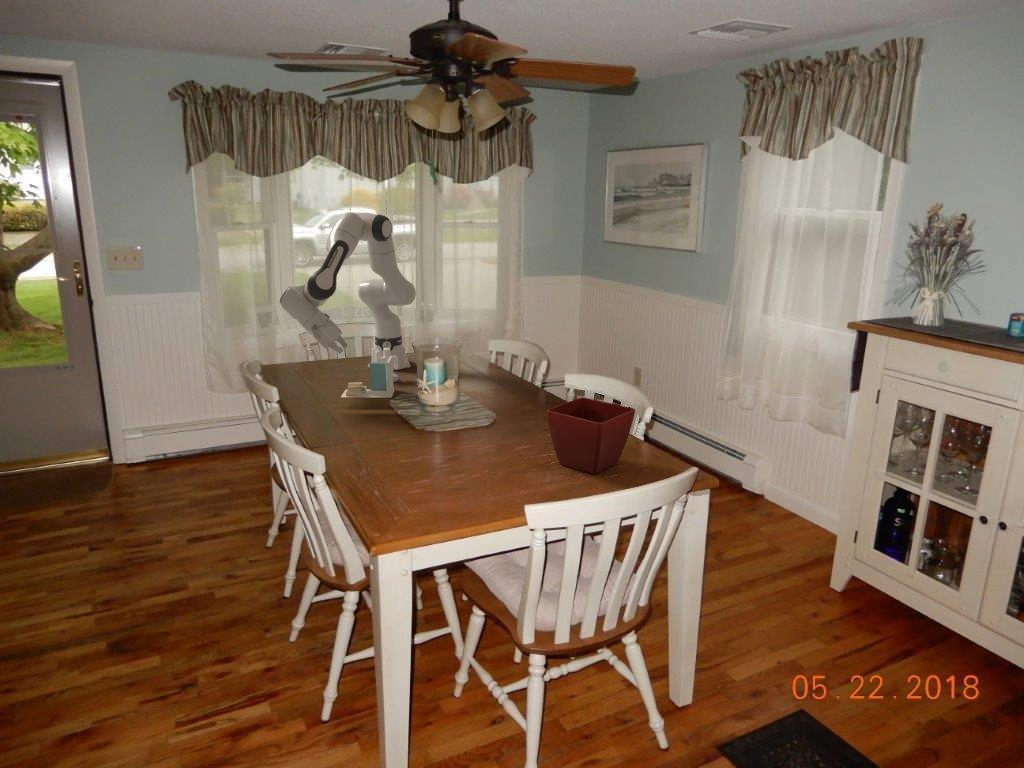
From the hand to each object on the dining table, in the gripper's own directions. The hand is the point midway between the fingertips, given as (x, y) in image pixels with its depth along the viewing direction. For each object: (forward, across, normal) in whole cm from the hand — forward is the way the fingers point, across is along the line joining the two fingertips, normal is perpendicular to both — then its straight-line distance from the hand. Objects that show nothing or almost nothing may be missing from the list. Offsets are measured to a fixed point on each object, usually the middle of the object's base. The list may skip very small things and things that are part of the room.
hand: (344, 349), depth 269 cm
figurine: (+23, +19, +4) cm, 30 cm away
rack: (+19, 0, +7) cm, 20 cm away
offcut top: (+13, 0, +8) cm, 16 cm away
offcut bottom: (+15, 0, +9) cm, 18 cm away
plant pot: (+72, -69, -46) cm, 110 cm away
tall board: (+21, 0, +3) cm, 21 cm away
